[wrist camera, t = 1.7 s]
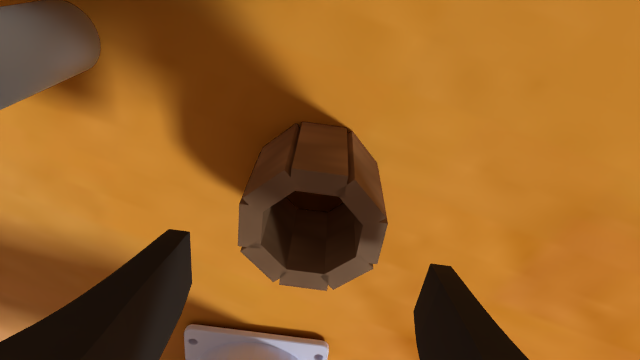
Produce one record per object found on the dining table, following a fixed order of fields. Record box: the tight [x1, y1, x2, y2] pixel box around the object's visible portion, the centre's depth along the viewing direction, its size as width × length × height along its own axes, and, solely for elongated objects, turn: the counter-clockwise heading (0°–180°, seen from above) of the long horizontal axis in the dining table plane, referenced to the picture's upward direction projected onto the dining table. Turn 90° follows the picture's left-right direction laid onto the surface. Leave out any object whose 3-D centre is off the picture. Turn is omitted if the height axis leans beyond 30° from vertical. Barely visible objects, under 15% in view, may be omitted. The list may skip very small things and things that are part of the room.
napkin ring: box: [238, 122, 388, 291], centre depth 15 cm, size 5×5×4 cm
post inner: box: [0, 0, 100, 110], centre depth 13 cm, size 3×3×5 cm
